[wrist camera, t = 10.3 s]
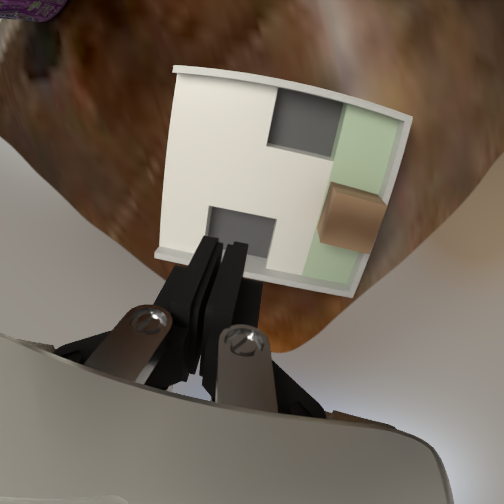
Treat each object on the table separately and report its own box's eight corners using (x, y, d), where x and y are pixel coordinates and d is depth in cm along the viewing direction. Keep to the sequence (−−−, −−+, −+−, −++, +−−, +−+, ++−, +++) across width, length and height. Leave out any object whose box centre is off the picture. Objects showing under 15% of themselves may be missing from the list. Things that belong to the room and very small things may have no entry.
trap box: (186, 67, 28) (173, 65, 25) (398, 113, 28) (413, 116, 25) (166, 241, 38) (154, 257, 34) (347, 278, 38) (352, 298, 34)
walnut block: (330, 181, 30) (336, 191, 27) (377, 194, 30) (387, 206, 27) (316, 227, 32) (320, 242, 29) (361, 238, 32) (369, 254, 29)
